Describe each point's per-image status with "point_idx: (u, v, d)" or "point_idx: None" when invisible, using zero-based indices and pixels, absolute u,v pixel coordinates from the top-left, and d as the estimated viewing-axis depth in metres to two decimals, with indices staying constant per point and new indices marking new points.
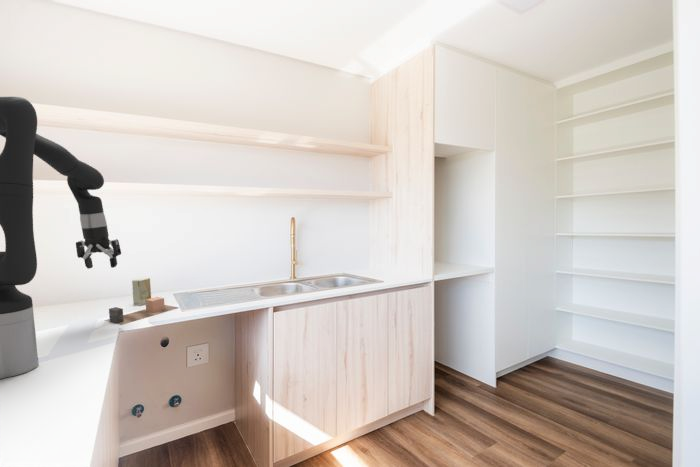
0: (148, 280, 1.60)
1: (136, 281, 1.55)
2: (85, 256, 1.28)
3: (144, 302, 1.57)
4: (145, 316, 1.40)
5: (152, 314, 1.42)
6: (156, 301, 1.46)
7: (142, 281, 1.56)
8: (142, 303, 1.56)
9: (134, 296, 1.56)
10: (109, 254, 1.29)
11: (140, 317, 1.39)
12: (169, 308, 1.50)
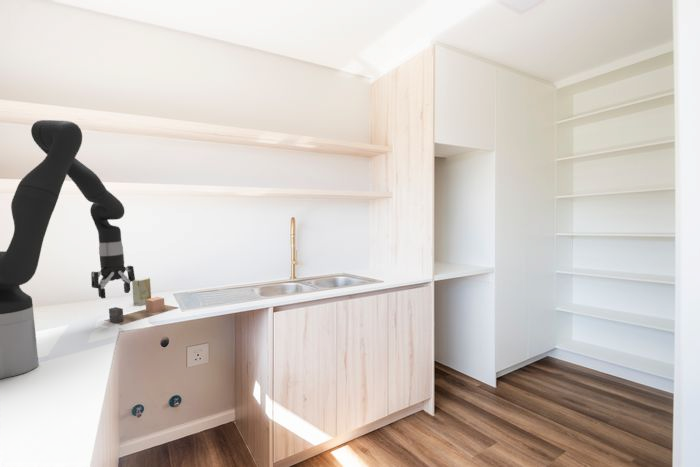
0: (148, 280, 1.60)
1: (136, 281, 1.55)
2: (103, 285, 1.29)
3: (144, 302, 1.57)
4: (145, 316, 1.40)
5: (152, 314, 1.42)
6: (156, 301, 1.46)
7: (142, 281, 1.56)
8: (142, 303, 1.56)
9: (134, 296, 1.56)
10: (127, 279, 1.36)
11: (140, 317, 1.39)
12: (169, 308, 1.50)
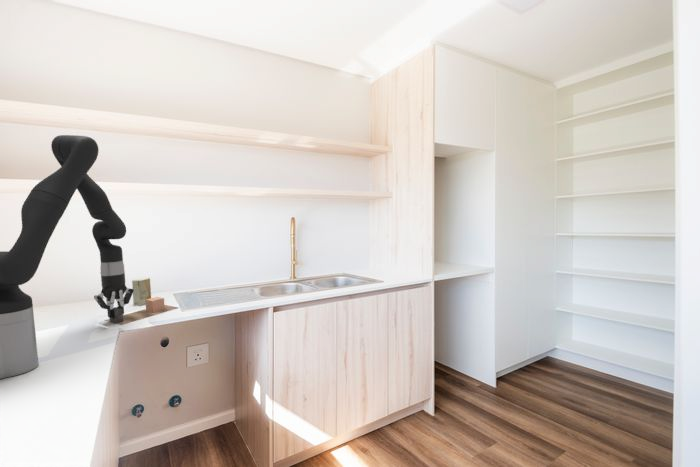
0: (148, 280, 1.60)
1: (136, 281, 1.55)
2: (112, 306, 1.32)
3: (144, 302, 1.57)
4: (145, 316, 1.40)
5: (152, 314, 1.42)
6: (156, 301, 1.46)
7: (142, 281, 1.56)
8: (142, 303, 1.56)
9: (134, 296, 1.56)
10: (122, 302, 1.35)
11: (140, 317, 1.39)
12: (169, 308, 1.50)
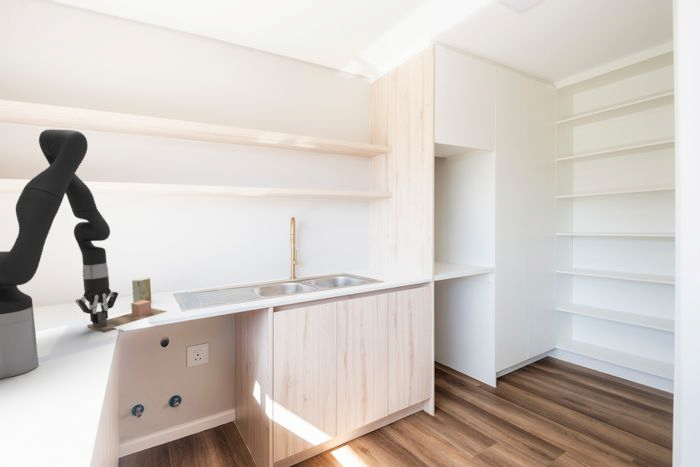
0: (148, 280, 1.60)
1: (136, 281, 1.55)
2: (95, 310, 1.27)
3: None
4: (130, 320, 1.35)
5: (138, 318, 1.37)
6: (142, 305, 1.41)
7: (142, 281, 1.56)
8: None
9: (134, 296, 1.56)
10: (106, 306, 1.30)
11: (125, 321, 1.34)
12: (156, 312, 1.45)
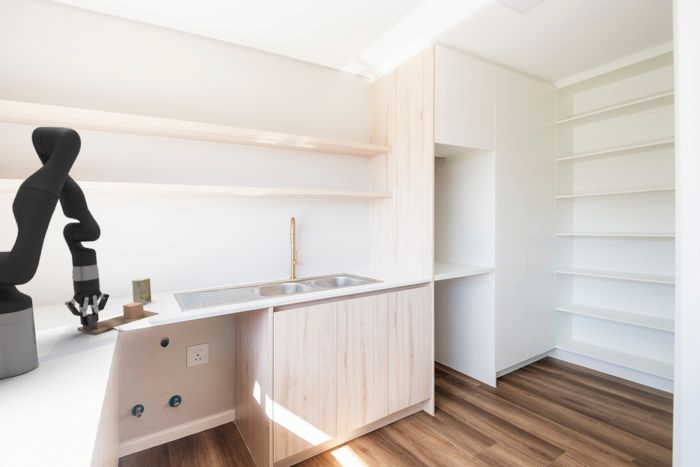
0: (148, 280, 1.60)
1: (136, 281, 1.55)
2: (85, 313, 1.24)
3: (144, 302, 1.57)
4: (121, 323, 1.32)
5: (129, 321, 1.34)
6: (134, 307, 1.38)
7: (142, 281, 1.56)
8: None
9: (134, 296, 1.56)
10: (96, 309, 1.27)
11: (116, 324, 1.31)
12: (149, 314, 1.42)
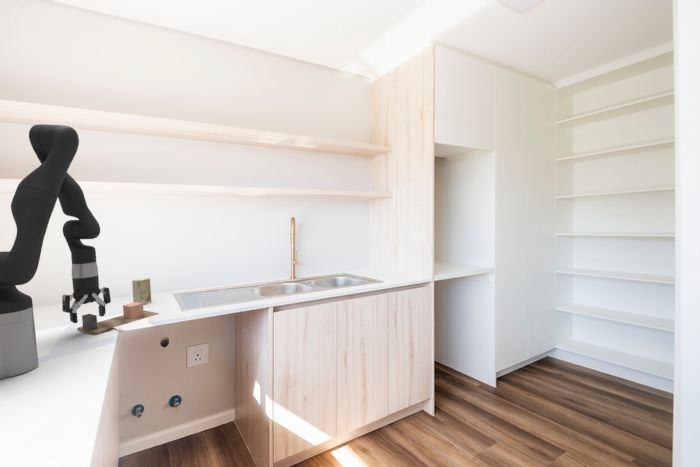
0: (148, 280, 1.60)
1: (136, 281, 1.55)
2: (75, 309, 1.21)
3: (144, 302, 1.57)
4: (121, 323, 1.32)
5: (129, 321, 1.34)
6: (134, 307, 1.38)
7: (142, 281, 1.56)
8: None
9: (134, 296, 1.56)
10: (102, 302, 1.29)
11: (116, 324, 1.31)
12: (148, 314, 1.42)
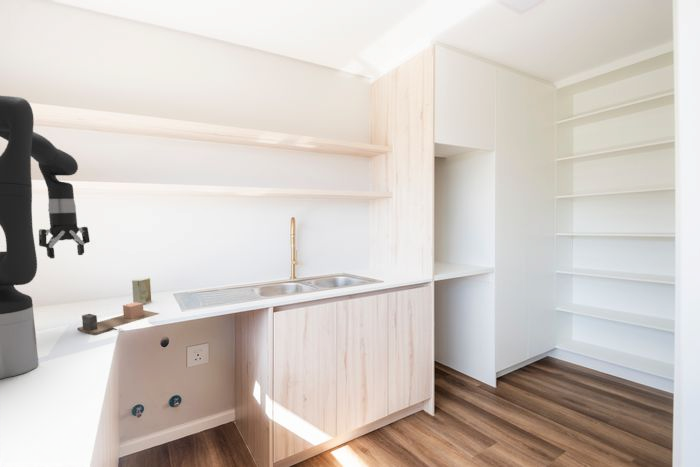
0: (148, 280, 1.60)
1: (136, 281, 1.55)
2: (52, 244, 1.21)
3: (144, 302, 1.57)
4: (121, 323, 1.32)
5: (129, 321, 1.34)
6: (134, 307, 1.38)
7: (142, 281, 1.56)
8: None
9: (134, 296, 1.56)
10: (80, 241, 1.29)
11: (116, 324, 1.31)
12: (148, 314, 1.42)
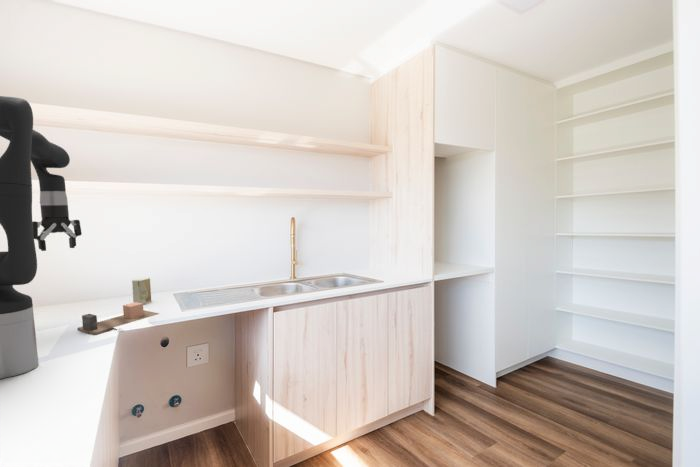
0: (148, 280, 1.60)
1: (136, 281, 1.55)
2: (43, 237, 1.21)
3: (144, 302, 1.57)
4: (121, 323, 1.32)
5: (129, 321, 1.34)
6: (134, 307, 1.38)
7: (142, 281, 1.56)
8: None
9: (134, 296, 1.56)
10: (72, 233, 1.29)
11: (116, 324, 1.31)
12: (148, 314, 1.42)
